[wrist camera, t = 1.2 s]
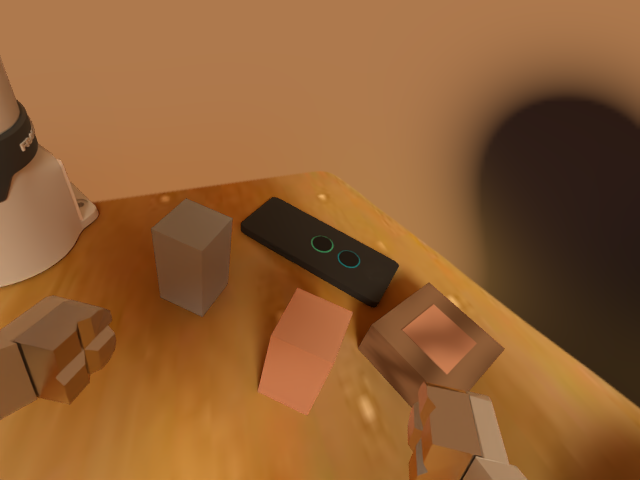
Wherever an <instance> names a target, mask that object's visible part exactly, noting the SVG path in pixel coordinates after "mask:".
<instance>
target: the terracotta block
mask: <svg viewBox="0 0 640 480" xmlns="http://www.w3.org/2000/svg"><path fill="white" fill-rule="evenodd" d="M352 314H353V312H351V311H349V310H347V309H344V308H342V307H340V306H338V305H335V304H333V303H331V302H329V301H326V300H324V299H322V298H320V297H317V296H315V295H313V294H311V293H308V292H306V291H304V290H302V289H299V288H297V289H296V291H295V293H294V295H293V297H292V298H291V300H290V302H289V304H288V306H287V307H286V309H285V311H284V313H283V315H282V316H281V318H280V320H279V322H278V324H277V325H276V327H275V329H274V331H273V333H272V334H271V338H270V342H269V346H268V350H267V355H266V359H265V363H264V367H263V371H262V376H261V380H260V384H259V388H258V392H259V393H261V394H263V395H266V396H268V397H270V398H272V399H274V400H276V401H278V402H280V403H282V404H284V405H286V406H288V407H290V408H292V409H294V410H297V411H299V412H301V413H303V414H305V415H308V413H309V411H310V409H311V407H312V405H313V403H314V401H315V400H316V398H317V396H318V394H319V392H320V390H321V388H322V386H323V384H324V382H325V380H326V378H327V376H328V374H329V372H330V370H331V368H332V366H333V365H334V362H335V359H336V357H337V354H338V351H339V349H340V346H341V343H342V341H343V338H344V335H345V333H346V330H347V327H348V325H349V322H350V319H351V317H352Z"/></svg>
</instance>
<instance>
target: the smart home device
mask: <svg viewBox="0 0 640 480" xmlns="http://www.w3.org/2000/svg"><path fill="white" fill-rule="evenodd" d="M241 231H242V232H243V233H244V234H245V235H247V236H249V237H250V238H252V239H254V240H256V241H257V242H259V243H261V244H263V245H264V246H266V247H268V248H269V249H271V250H273V251H275V252H276V253H278V254H280V255H281V256H283V257H285V258H287V259H288V260H290V261H292V262H294V263H295V264H297V265H299V266H301V267H302V268H304V269H306V270H308V271H309V272H311V273H313V274H314V275H316V276H318V277H320V278H321V279H323V280H325V281H327V282H328V283H330V284H332V285H333V286H335V287H337V288H339V289H340V290H342V291H344V292H346V293H347V294H349V295H351V296H352V297H354V298H356V299H358V300H359V301H361V302H363V303H365V304H366V305H368V306H371V307H377V305H378V303H379V302H380V300H381V298H382V296H383V294H384V292H385V291H386V289H387V288H388V286H389V284H390V282H391V280H392V278H393V276H394V274H395V272H396V271H397V269H398V267H399V265H398V264H397V263H396V262H395V261H394V260H392V259H390V258H388V257H386V256H385V255H383V254H381V253H379V252H377V251H375V250H373V249H372V248H370V247H368V246H366V245H364V244H362V243H360V242H359V241H357V240H355V239H353V238H351V237H349V236H348V235H346V234H344V233H342V232H340V231H338V230H336V229H335V228H333V227H331V226H329V225H327V224H325V223H323V222H322V221H320V220H318V219H316V218H314V217H312V216H311V215H309V214H307V213H305V212H303V211H301V210H299V209H298V208H296V207H294V206H292V205H290V204H288V203H286V202H285V201H283V200H281V199H279V198H276V197H272V198H271V199H270V200H268V201H267V202H266V203H265V204H263V205H262V206H261V207H260V208H259V209H257V210H256V211H255V212H254V213H252V214H251V215H250V216H249V217H247V218H246V219H245V220H244V221H243V222H242V223H241Z"/></svg>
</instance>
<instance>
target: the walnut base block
mask: <svg viewBox="0 0 640 480" xmlns="http://www.w3.org/2000/svg"><path fill="white" fill-rule="evenodd" d="M358 349H359V350H360V351H361V352H362V354H363V355H364V356H365V357H366V358H367V359H368V360H369V361H370V362H371V363H372V365H373V366H374V367H375V368H376V369H377V370H378V371H379V372H380V373H381V374H382V376H383V377H384V378H385V379H386V380H387V381H388V382H389V383H390V384H391V385H392V386H393V388H394V389H395V390H396V391H397V392H398V393H399V394H400V395H401V396H402V397H403V399H404V400H405V401H406V402H407V403H408V404H409V405H410V406H411V407H413V404H415V403H417V402H418V401H419V397H418V391H419V389H420V386H421V384H422V383H423V382H427V383H432V384H436V385H441V386H446V387H450V388H455V389H459V390H464V391H469V390H470V389H471V388H472V387H473V386H474V384H475V383H476V382H477V381H478V380H479V379H480V377H481V376H482V375H483V374H484V373H485V372H486V370H487V369H488V368H489V367H490V366H491V364H492V363H493V362H494V361H495V360H496V359H497V357H498V356H499V355H500V354H501V353H502V352H503V350H504V348H503V347H502V346H501V345H500V344H499V343H498V342H496V341H495V340H494V339H493V338H492V337H491V336H490V335H488V334H487V333H486V332H485V331H484V330H483V329H482V328H480V327H479V326H478V325H477V324H476V323H475V322H474V321H472V320H471V319H470V318H469V317H468V316H467V315H466V314H464V313H463V312H462V311H461V310H460V309H459V308H458V307H456V306H455V305H454V304H453V303H452V302H451V301H450V300H448V299H447V298H446V297H445V296H444V295H443V294H442V293H440V292H439V291H438V290H437V289H436V288H435V287H434V286H433V285H431V284H430V283H428V284H426V285H425V286H423V287H422V288H421V289H419V290H418V291H417V292H415V293H414V294H413V295H411V296H410V297H409V298H407V299H406V300H404V301H403V302H402V303H400V304H399V305H398V306H396V307H395V308H394V309H392V310H391V311H390V312H388V313H387V314H385V315H384V316H383V317H381V318H380V319H379V320H377V321H376V322H375V323H373V324H372V325H371V327H370V328H369V330H368V332H367V334H366V335H365V337H364V339H363V341H362V342H361V344H360V346H359V348H358Z"/></svg>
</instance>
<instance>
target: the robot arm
mask: <svg viewBox="0 0 640 480" xmlns="http://www.w3.org/2000/svg"><path fill="white" fill-rule="evenodd" d="M98 215H99V213H98V210H97V208H96V206H95V205H94V204H93V203H92V202H91V201H90V200H89V199H88V198H87V197H86V196H85V195H84V194H83V193H82V192H80V190H79V189H78V188H76V187H75V186H74V185H73V184H72V183H71V182H70V181H69V178H68V176H67V173H66V170H65V167H64V165H63V163H62V161H61V160H60V159H56V158H55V157H54V156H53V155H52V154H51V153H50V152H49V151H48V150H46V149H45V148H43V147H42V146H40V145H39V144H38V142H37V139H36V136H35V131H34V127H33V124H32V121H31V120H30V118H29V116H28V115H27V113H26V110H25V108H24V107H23V105H22V104H21V103H20V102H18V100H16V98H15V96H14V93H13V90H12V87H11V85H10V82H9V79H8V76H7V74H6V71H5V68H4V65H3V63H2V60H1V57H0V287H2V286H6V285H10V284H14V283H17V282H20V281H23V280H25V279H28V278H30V277H33V276H35V275H37V274H39V273H41V272H43V271H45V270H46V269H48V268H50V267H51V266H53V265H54V264H56V263H57V262H58V261H59V260H61V259H62V258H63V257H64V256H65V255H66V254H67V253H68V252H69V251H70V250H71V248H72V247H73V246H74V244H75V242H76V241H77V239H78V237H79V235H80V233H81V231H82V230H83V229H84V228H85V227H87V226H88V225H89V224H91V223H92V222H93V221H94V220H95V219H96V218H97V217H98ZM111 322H112V317H111V313H110V310H107V309H105V308H101V307H97V306H94V305H90V304H86V303H82V302H78V301H74V300H69V299H65V298H61V297H58V296H54V295H53V296H49V297H45V298H44V299H43V300H41V301H40V302H39V303H37V304H36V305H34V306H33V307H32V308H30V309H29V310H27V311H26V312H25V313H23V314H22V315H21V316H19V317H18V318H16V319H15V320H14V321H12V322H11V323H9V324H8V325H7V326H5V327H4V328H2V329H1V330H0V420H1V419H3V418H4V417H6V416H8V415H10V414H12V413H13V412H15V411H17V410H19V409H20V408H22V407H24V406H26V405H28V404H29V403H31V402H33V401H35V400H36V399H37V397H38V398H43V399H47V400H52V401H56V402H61V403H65V404H69V405H70V404H71V403H72V401H73V400H74V399H75V398H76V397H77V396H78V395H79V394H80V393H81V392H82V390H83V389H84V388H85V387H86V386H87V385H88V384H89V383H90V374H92V373H94V372H96V371H98V370H100V369H102V368H103V367H104V366H105V365H106V363H107V362H108V361H109V360H110V358H111V356H112V354H113V352H114V350H115V345H116V337H115V333H114V332H113V331H112V329H111V328H110V327H109V326H108V325H109V324H110V323H111ZM418 397H419V401H418V402H417V403H415V404H413V407H412V410H411V413H410V417H409V423H408V445H409V447H410V448H411V450H412V451H413V454H412V456H411V458H410V461H409V480H527V478H526V477H525V476H524V475H523V474H522V472H521V471H520V470H519V469H518V468H517V466H513V465H510V464H509V461H508V458H507V454H506V451H505V447H504V444H503V440H502V437H501V433H500V430H499V426H498V423H497V419H496V415H495V412H494V408H493V405H492V401H491V399H490V398H489V397H488V396H486V395H481V394H477V393H472V392H468V391H464V390H459V389H455V388H450V387H446V386H441V385H436V384H432V383H427V382H423V383H422V384H421V386H420V389H419V391H418Z"/></svg>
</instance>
